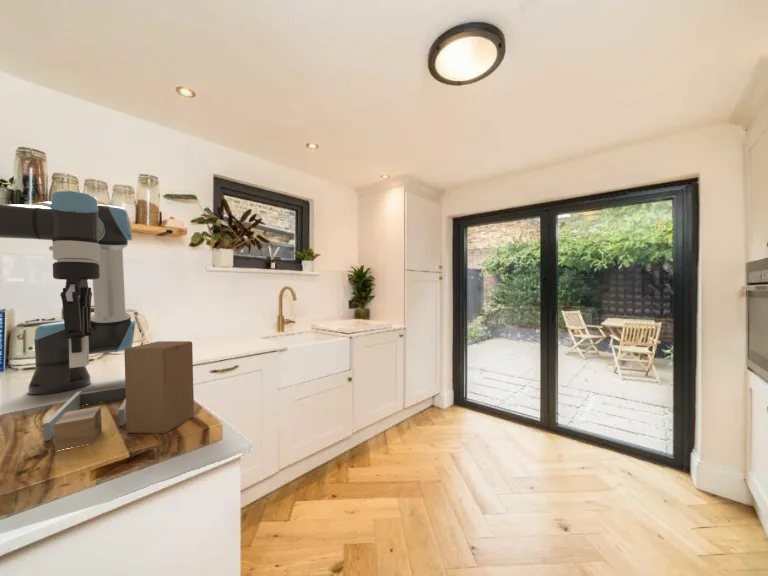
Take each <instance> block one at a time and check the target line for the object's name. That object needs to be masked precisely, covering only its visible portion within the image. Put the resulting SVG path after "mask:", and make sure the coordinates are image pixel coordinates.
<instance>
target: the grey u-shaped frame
mask: <svg viewBox="0 0 768 576" xmlns="http://www.w3.org/2000/svg"><path fill="white" fill-rule="evenodd" d="M108 401H111V402H116V401H122V404H121V405H120V406H119V409H118V427H122V426H125V424H126V391H125V386H118V387H112V388H104V389H98V390H91V391H85V392H83V390H80V391H76V392H75V393H74V394H73V395H72V396H70V398H69V399H68V400H67V401H65V403H64V404H63V405H62V406H60V408H59V409H57V410H56V411H55V412H54V413H53V414H51V416H50V417H48V419H46V420H45V421H44V422H43V442H47V441H51V440H52V439H53V438H54V437H55V425H54V424H55V423H56V422H57V421H58V420H59V419H60V418H61V417H62V416H63V415H64V414H65V413H66V412H69V411H74V410H77V409H78V408H79V409H80V408H81V407H83V406H82V405H86V404H93V405H95V404H94V403H99V402H105V403H109V402H108ZM99 404H100V403H99ZM80 406H81V407H80ZM79 409H78V410H79Z"/></svg>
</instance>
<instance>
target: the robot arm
mask: <svg viewBox="0 0 768 576" xmlns="http://www.w3.org/2000/svg"><path fill="white" fill-rule="evenodd" d="M130 221H131V220H130V217H129V214H128V211H127V210H126V209H125V208H123V207H120V206H114V205H111V204H107V205H105V204H98V199H97V198H96V197H95V196H93V195H90V194H88V193H85V192H78V191H72V190H57V191H56V190H55V191H54V192H53V193H52V194H51V201H43V202H42V201H40V202H34V203H30V204H5V203H0V238H1V239H2V238H3V239H5V238H6V239H29V240H32V239H33V240H44V241H51V242H52V245H50V246H49V247H48V249H49V251H52V259H53V260H55V262H53V263H52V278H53V279H55V280H64V281H65V286H64V287H63V288H62V291H61V292H60V298H61V302H62V303H61V304H62V312H63V321H57V322H49V323H45V324H41V325H39V326H37V327H36V328H35V330H34V339H33V341H34V357H35V358H34V359H35V360H34V361H35V369H34V373H33V375H32V377H31V379H30V382H29V384H28V386H27V387H28V388H27V391H28V394H29V395H47V394H56V393H61V392H66V391H70V390H71V391H72V390H76V389H79V388H82V387H85V386H87V385H89V384H91V375H90V373H89V371H88V369H87V366H88V365H90V355H96V354H106V353H107V354H108V353H118V352H123V351H125V349H127V348H131V347H133V343H134V337H135V336H134V335H135V329H136V323H137V322H136V320H135V319H133V318H132V317H131V316H132V315H131V314H129V313H128V312H127V311H126V297H125V294H126V293H125V277H124V252H123V250H124V249H125V248H126V247H127V246H128V243H129V242H128V241H132V240H133V233H132V226H131V222H130ZM88 280H92V288H91V287H89V282H88ZM92 291H93V292H92ZM92 297H93V307H94V309H93V310H94V313H93V315H92Z"/></svg>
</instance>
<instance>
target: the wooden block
mask: <svg viewBox="0 0 768 576" xmlns="http://www.w3.org/2000/svg"><path fill="white" fill-rule="evenodd" d="M193 357H194V356H193V342H192V341H188V340H187V341H186V340H183V341H181V340H178V341H176V340H175V341H172V340H171V341H165V340H164V341H162V340H161V341H160V340H159V341H155V342H150V343H144V344H141V345H136V346H132V347H131V348H127V349H125V350H124V381H125V384H124V385H125V391H126V422H125V424H126V433H131V434H134V433H135V434H160V435H161V434H162V435H163V434H166V433H168V432H170V431H172V430H174V429H175V428H177V427H179V426H180V425H182V424H183V423H185V422H187V421H189V420H190V419H191V418H193V417H194V415H195V404H194V403H195V402H194V401H195V398H194V396H195V395H194V361H193V360H194V359H193Z"/></svg>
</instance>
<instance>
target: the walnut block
mask: <svg viewBox="0 0 768 576" xmlns="http://www.w3.org/2000/svg"><path fill="white" fill-rule="evenodd" d="M102 424H103V423H102V405H98V406H93V407H88V408H82V409H80V408H79V409H78V410H74V411H69V412H66V413H65V414H64V415H63V416H62V417H61V418H60V419H59V420H58V421H57V422H56V423H55V424H54V425H55V435H54V444H55V445H54V450H55V451H58V450H62V449H66V448H71V447H77V446H82V445H87V444H91V445H94V444H95V443H96V441H97V439H98V438H99V436H100V434H101V433H102V429H103V427H102ZM97 437H98V438H97ZM94 442H95V443H94ZM93 443H94V444H93ZM87 446H88V445H87ZM82 447H83V446H82Z"/></svg>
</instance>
